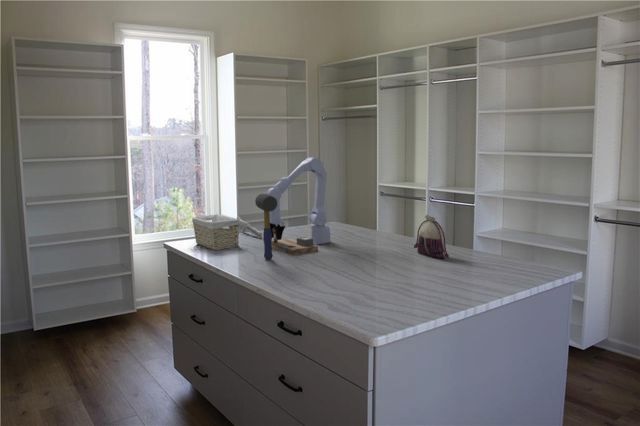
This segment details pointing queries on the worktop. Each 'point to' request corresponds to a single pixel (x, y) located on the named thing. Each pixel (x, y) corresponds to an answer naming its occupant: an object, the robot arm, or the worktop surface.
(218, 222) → the storage basket
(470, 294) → the worktop surface
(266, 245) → the rubber mallet
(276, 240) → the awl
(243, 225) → the gun
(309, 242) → the block
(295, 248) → the board
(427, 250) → the pouch
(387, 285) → the worktop surface
